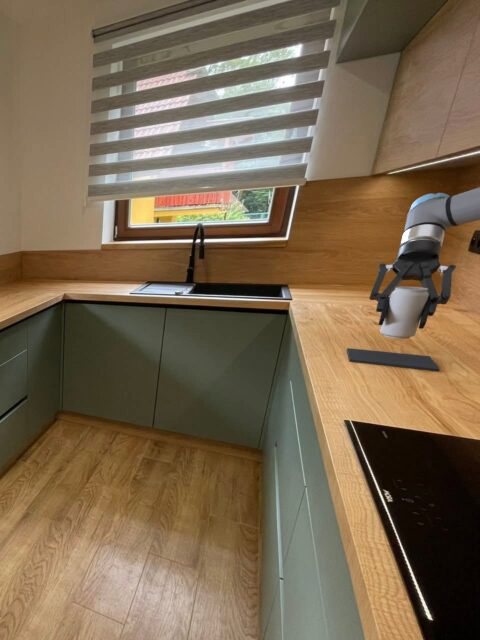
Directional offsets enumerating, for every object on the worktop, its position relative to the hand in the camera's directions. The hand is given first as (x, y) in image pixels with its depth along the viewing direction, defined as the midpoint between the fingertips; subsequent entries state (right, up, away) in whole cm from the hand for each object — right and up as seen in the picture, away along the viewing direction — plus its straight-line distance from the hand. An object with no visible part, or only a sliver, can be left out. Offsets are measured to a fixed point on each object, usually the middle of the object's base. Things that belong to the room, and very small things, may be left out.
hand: (401, 323), depth 103 cm
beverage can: (+3, -3, +4) cm, 5 cm away
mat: (+3, -8, +6) cm, 11 cm away
